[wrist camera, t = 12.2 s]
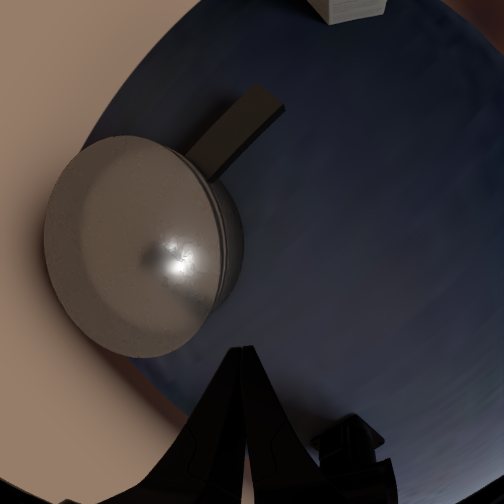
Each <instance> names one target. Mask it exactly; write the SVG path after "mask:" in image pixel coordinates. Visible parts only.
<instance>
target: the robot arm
mask: <svg viewBox="0 0 504 504" xmlns="http://www.w3.org/2000/svg"><path fill="white" fill-rule="evenodd" d="M354 419H356V420H354ZM186 423H187V424H185V425H184V427H183V429H182V430H181V432H180V433H179V435H178V436H177V438H176V440H175V441H174V443H173V444H172V445H171V447H170V448H169V449H168V450H167V452H166V453H165V454H164V456H163V457H162V458H161V459H160V460H159V462H158V463H157V464H156V465H155V466H154V468H153V469H152V470H151V471H150V472H149V474H148V475H147V476H146V477H145V478H144V479H143V480H142V481H141V482H140V483H138V484H137V485H136V486H134V487H132V488H130V489H128V490H126V491H124V492H122V493H120V494H118V495H115V496H114V497H111V498H109V499H107V500H104V501H102V502H100V503H97V504H241V498H242V485H243V473H244V460H245V459H244V458H245V447H246V437H247V445H248V453H249V460H250V467H251V474H252V481H253V488H254V499H255V500H254V502H255V503H254V504H398V493H397V485H396V479H395V475H394V471H393V467H392V463H391V459H390V458H387V459H385V460H383V461H380V462H376V455H375V449H376V448H378V447H380V446H381V445H383V444H384V443H385V441H384V438H383V437H381V436H380V435H379V434H378V433H377V432H376V431H375V430H374V429H372V428H371V427H370V426H369V425H368V424H367V423H366V422H365V421H364V420H362V419H361V418H360V417H359V416H358V415H354V416H352V417H350V418H349V419H347V420H346V421H344V422H342V423H341V424H339V425H337V426H335V427H334V428H332V429H330V430H328V431H327V432H325V433H323V434H321V435H320V436H318V437H316V438H314V439H312V440H311V442H310V445H311V446H312V447H314V448H315V449H316V450H318V451H319V461H320V467H318V465H317V464H316V463H315V461H314V460H313V459H312V457H311V456H310V455H309V453H308V452H307V451H306V449H305V448H304V446H303V445H302V443H301V442H300V440H299V439H298V437H297V435H296V433H295V431H294V430H293V428H292V426H291V424H290V422H289V420H288V418H287V416H286V414H285V412H284V410H283V408H282V406H281V404H280V402H279V399H278V397H277V395H276V393H275V391H274V389H273V387H272V385H271V383H270V381H269V378H268V376H267V374H266V372H265V370H264V368H263V366H262V363H261V361H260V359H259V357H258V355H257V353H256V350H255V348H254V346H252V345H250V346H243V347H242V348H241V347H231V348H229V350H228V351H227V353H226V355H225V357H224V358H223V360H222V362H221V364H220V365H219V367H218V369H217V371H216V372H215V374H214V376H213V378H212V379H211V381H210V383H209V385H208V386H207V388H206V390H205V391H204V393H203V395H202V397H201V398H200V400H199V402H198V403H197V405H196V407H195V408H194V410H193V412H192V414H191V415H190V417H189V419H188V420H187V422H186ZM314 442H316V443H314ZM0 504H52V503H50V502H48V501H46V500H44V499H41V498H39V497H37V496H35V495H33V494H30V493H28V492H26V491H24V490H22V489H20V488H18V487H17V486H14V485H13V484H11V483H9V482H7V481H6V480H4V479H2V478H0ZM59 504H80V503H77V502H75V501H72V500H69V499H65V500H64V501H62V502H61V503H59ZM456 504H504V475H502V476H501V477H499V478H498V479H496V480H494V481H493V482H491V483H489V484H488V485H486V486H485V487H483V488H482V489H480V490H478V491H477V492H475V493H473V494H472V495H470V496H468V497H467V498H465V499H463V500H461V501H459V502H458V503H456Z"/></svg>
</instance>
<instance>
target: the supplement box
mask: <svg viewBox="0 0 504 504" xmlns="http://www.w3.org/2000/svg"><path fill="white" fill-rule="evenodd" d="M307 1H308V2H309V3H310V4H311V5H312V7H313V8H314V9H315V10H316V11H317V12H318V13H319V14H320V16H321V17H322V18H323V19H324V20H325V22H326V23H327V24H328V25H332V24H336V23H340V22H345V21H350V20H354V19H360V18H365V17H370V16H376V15H381V14H383V13H384V9H385V5H386V1H387V0H307Z"/></svg>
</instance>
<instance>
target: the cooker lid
mask: <svg viewBox="0 0 504 504" xmlns="http://www.w3.org/2000/svg"><path fill="white" fill-rule="evenodd" d="M44 247H45V248H44V249H45V257H46V263H47V268H48V271H49V276H50V278H51V282H52V285H53V287H54V290H55V291H56V294H57V296H58V298H59V300H60V302H61V304H62V306H63V307H64V309H65V310H66V312H67V313H68V315H69V316H70V318H71V319H72V320H73V321H74V322H75V324H76V325H77V326H78V327H79V328H80V329H81V330H82V331H83V332H84V333H85V334H86V335H87V336H88V337H90V338H91V339H92V340H94V341H95V342H96V343H98V344H99V345H101V346H103V347H104V348H106V349H108V350H111V351H113V352H115V353H118V354H121V355H124V356H129V357H135V358H151V357H158V356H161V355H164V354H167V353H170V352H172V351H174V350H176V349H178V348H180V347H181V346H182V345H184V344H185V343H186V342H187V341H189V340H190V339H191V338H192V337H193V336H194V334H195V333H196V332H197V331H198V330H199V329H200V328H201V326H202V325H203V324H204V322H205V321H206V319H207V318H208V316H209V315H210V313H211V311H212V309H213V307H214V305H215V303H216V300H217V297H218V294H219V291H220V287H221V282H222V276H223V270H224V246H223V235H222V231H221V226H220V221H219V217H218V214H217V212H216V209H215V206H214V203H213V201H212V199H211V197H210V195H209V192H208V190H207V188H206V187H205V185H204V184H203V182H202V181H201V179H200V178H199V176H198V175H197V173H196V172H195V171H194V170H193V169H192V168H191V166H190V165H189V164H188V163H187V162H186V161H185V160H184V159H182V158H181V157H180V156H179V155H178V154H176V153H175V152H173V151H172V150H170V149H168V148H167V147H165V146H163V145H161V144H158V143H156V142H153V141H151V140H148V139H145V138H140V137H135V136H115V137H109V138H106V139H103V140H100V141H97V142H96V143H94V144H92V145H90V146H88V147H87V148H85V149H84V150H83V151H81V152H80V153H79V154H78V155H77V156H75V157H74V159H73V160H71V162H70V163H69V164H68V165H67V167H66V168H65V169H64V170H63V172H62V174H61V175H60V177H59V179H58V180H57V183H56V184H55V187H54V189H53V191H52V194H51V197H50V200H49V203H48V207H47V212H46V217H45V225H44Z"/></svg>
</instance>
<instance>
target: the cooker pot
mask: <svg viewBox="0 0 504 504" xmlns="http://www.w3.org/2000/svg"><path fill="white" fill-rule="evenodd" d="M285 111H286V110H285V107H284V104H283V103H282V102H281V101H279V100H278V99H277V98H276V97H274V96H273V95H272V94H270V93H269V92H268V91H266V90H265V89H264V88H262V87H261V86H260V85H258V84H257V83H255V84H254V85H253V86H252V87H251V88H250V89H249V90H248V91H247V92H246V93H245V94H244V95H243V96H242V97H241V98H239V99H238V100H237V101H236V102H235V103H234V104H233V105H232V106H231V107H230V108H229V109H228V110H227V111H226V112H225V113H224V114H223V115H222V116H221V117H220V118H219V119H218V120H217V121H216V122H215V123H214V124H213V126H212V127H211V128H210V129H209V130H208V131H207V132H206V133H205V134H204V135H203V136H202V137H201V138H200V139H199V140H198V142H197V143H196V144H195V145H194V146H193V147H192V148H191V149H190V150H189V152H188V153H187V154H186V155H185V156H183V155H181V154H179V153H178V152H176V151H174V150H173V149H170V148H168V147H167V148H168V149H170V150H172V151H173V152H175V153H176V154H178V155H179V156H180V157H181V158H182V159H184V160H185V161H186V162H187V163H188V164H189V165H190V166H191V168H192V169H193V170H194V171H195V172H196V173H197V175H198V176H199V178H200V179H201V181H202V182H203V184H204V185H205V187H206V188H207V190H208V192H209V195H210V197H211V199H212V201H213V203H214V206H215V209H216V212H217V214H218V217H219V221H220V226H221V231H222V235H223V246H224V270H223V276H222V282H221V287H220V291H219V294H218V297H217V300H216V303H215V305H214V307H213V309H212V311H211V313H210V315H211V314H212V313H213V312H214V311H215V310H217V309H218V308H219V307H220V306H221V305H222V304H223V302H224V301H225V300H226V299H227V298H228V296H229V295H230V293H231V292H232V290H233V288H234V286H235V284H236V282H237V280H238V277H239V274H240V271H241V267H242V262H243V256H244V233H243V227H242V222H241V218H240V215H239V212H238V209H237V207H236V204H235V202H234V200H233V198H232V196H231V195H230V193H229V192H228V190H227V189H226V187H225V186H224V185H223V184H222V183H221V181H220V180H219V179H218V178H219V177H220V176H221V175H222V174H223V173H224V172H225V171H226V170H227V168H228V167H229V166H230V165H231V164H232V163H233V162H234V161H235V160H236V159H237V158H238V157H239V156H240V155H241V154H242V153H243V152H244V151H245V150H246V149H247V148H248V147H249V146H250V145H251V144H252V143H253V142H254V141H255V140H256V139H257V138H258V137H259V136H260V135H261V134H262V133H263V132H264V131H265V130H266V129H267V128H268V127H269V126H270V125H271V124H272V123H273V122H274V121H275V120H276V119H277V118H278V117H279V116H280V115H282V114H283V113H284V112H285ZM165 147H166V146H165ZM210 315H209V316H208V318H209V317H210ZM208 318H207V319H206V321H207V320H208ZM206 321H205V322H204V324H205V323H206ZM204 324H203V325H204ZM203 325H202V326H203ZM202 326H201V327H202Z"/></svg>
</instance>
